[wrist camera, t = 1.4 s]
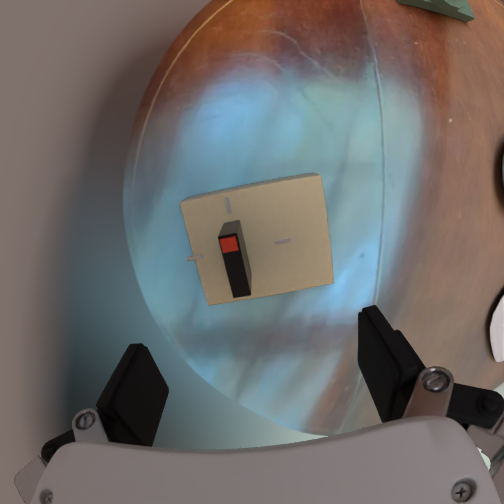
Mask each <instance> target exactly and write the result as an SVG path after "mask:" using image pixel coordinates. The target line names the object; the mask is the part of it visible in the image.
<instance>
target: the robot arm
mask: <svg viewBox="0 0 504 504" xmlns="http://www.w3.org/2000/svg"><path fill="white" fill-rule="evenodd" d="M358 364H359V367H360V370H361V372H362V374H363V377H364V379H365V381H366V384H367V386H368V389H369V391H370V393H371V396H372V398H373V401H374V403H375V406H376V408H377V411H378V413H379V416H380V418H381V421H382V422H383V423H382V424H378V425H374V426H370V427H366V428H362V429H359V430H355V431H351V432H346V433H342V434H338V435H333V436H328V437H324V438H319V439H313V440H308V441H302V442H295V443H289V444H281V445H273V446H264V447H253V448H239V449H172V448H158V447H152V445H153V441H154V438H155V435H156V432H157V428H158V425H159V422H160V419H161V416H162V412H163V409H164V406H165V403H166V400H167V397H168V393H169V389H168V386H167V384H166V382H165V380H164V378H163V377H162V375H161V373H160V371H159V369H158V367H157V366H156V363H155V362H154V360H153V358H152V356H151V354H150V352H149V350H148V348H147V347H146V346H144V345H143V344H141V343H140V344H130V345H129V347H128V348H127V350H126V352H125V353H124V355H123V357H122V358H121V360H120V362H119V364H118V366H117V367H116V369H115V371H114V372H113V374H112V376H111V378H110V380H109V381H108V383H107V385H106V387H105V389H104V390H103V392H102V394H101V396H100V398H99V400H98V401H97V404H96V406H97V408H98V409H97V411H95V410H94V409H84V410H82V411H80V412H79V413H78V414H77V415H76V416H75V417H74V419H73V422H72V427H73V429H72V430H70V431H67V432H66V433H64V434H62V435H60V436H58V437H56V438H54V439H52V440H50V441H48V442H47V443H45V445H44V446H43V448H42V451H41V455H42V457H40V456H39V455H38V456H37V457H36V458H35V459H34V460H33V461H31V462H30V463H29V464H28V465H26V466H25V467H24V468H23V469H22V470H20V471H19V472H18V473H17V474H16V476H15V479H14V483H15V486H16V488H17V490H18V492H19V494H20V496H21V497H22V499H23V501H24V503H25V504H504V399H503V397H502V396H501V395H500V394H499V393H498V392H495V391H492V390H487V389H482V388H476V387H472V386H467V385H462V384H457V383H454V378H453V375H452V374H451V372H450V371H449V370H447V369H445V368H443V367H437V366H433V367H429V368H427V369H426V367H425V366H424V364H423V363H422V361H421V360H420V358H419V357H418V355H417V354H416V352H415V351H414V350H413V348H412V347H411V345H410V344H409V342H408V341H407V340H406V338H405V337H404V335H403V334H402V333H401V331H400V330H395V331H394V330H393V328H392V327H391V326H390V324H389V323H388V321H387V320H386V319H385V317H384V316H383V314H382V313H381V312H380V310H379V309H378V307H377V306H376V305H373V306H369V307H365V308H363V309H362V312H359V313H358ZM477 447H478V448H480V449H482V451H481V452H482V453H483V454H485V455H486V456H488V457H489V459H490V462H491V465H490V469H489V470H488V468H487V466H486V464H485V462H484V460H483V458H482V456H481V454H480V452H479V450H478V449H477ZM453 485H454V486H453Z"/></svg>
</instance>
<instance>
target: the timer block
mask: <svg viewBox="0 0 504 504" xmlns="http://www.w3.org/2000/svg"><path fill="white" fill-rule="evenodd" d="M398 3H401V4H405V5H410V6H414V7H419V8H423V9H426V10H430V11H434V12H437V13H440V14H444V15H447V16H450V17H453V18H456V19H459V20H461V21H464V22H469V21H471V20H473V19H475V16H474V14H473V12H472V10H471V8H470V6H469V4H468V2H467V0H398Z"/></svg>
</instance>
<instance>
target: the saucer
mask: <svg viewBox="0 0 504 504" xmlns="http://www.w3.org/2000/svg"><path fill="white" fill-rule="evenodd" d="M502 179H503V186H504V154H503V160H502Z"/></svg>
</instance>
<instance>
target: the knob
mask: <svg viewBox="0 0 504 504" xmlns="http://www.w3.org/2000/svg"><path fill="white" fill-rule="evenodd" d="M218 240H219V244H220V248H221V252H222V256H223V260H224V264H225V268H226V272H227V276H228V280H229V284H230V288H231V291H232V295H233V298H239V297H245V296H251V281H252V273H251V268H250V264H249V259H248V255H247V250H246V246H245V241H244V236H243V232H242V227H241V223H240V220H236V221H231V222H226V223H224V224H223V226H222V228H221V230H220V233H219V235H218Z"/></svg>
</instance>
